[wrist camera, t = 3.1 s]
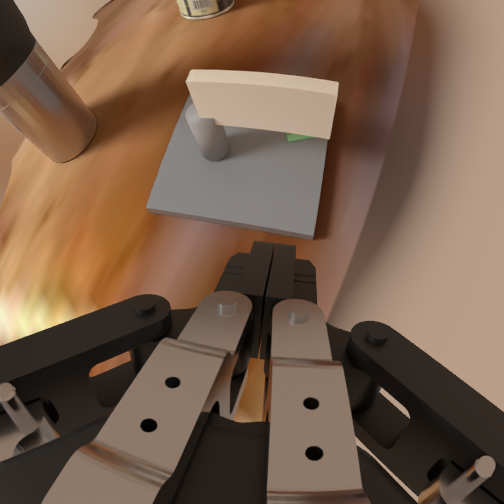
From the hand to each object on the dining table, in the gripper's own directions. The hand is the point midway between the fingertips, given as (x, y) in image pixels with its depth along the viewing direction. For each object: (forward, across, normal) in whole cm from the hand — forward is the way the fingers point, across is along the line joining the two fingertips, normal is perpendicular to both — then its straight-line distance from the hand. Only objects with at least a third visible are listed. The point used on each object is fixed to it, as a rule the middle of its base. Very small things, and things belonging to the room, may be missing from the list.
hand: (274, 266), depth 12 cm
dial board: (+26, -6, 0) cm, 27 cm away
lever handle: (+24, -3, 0) cm, 24 cm away
